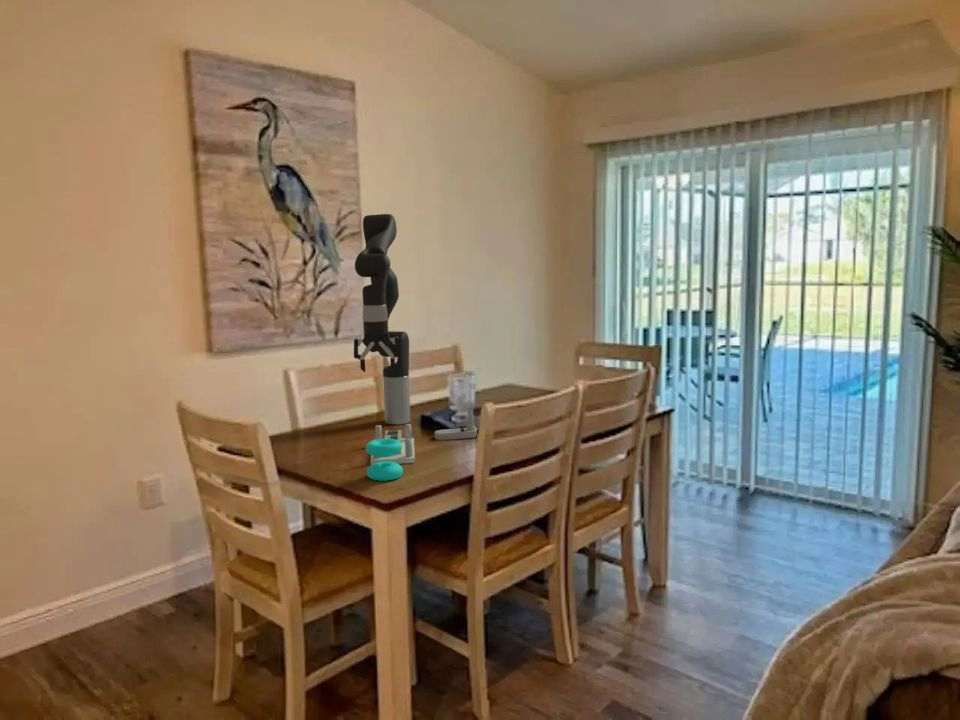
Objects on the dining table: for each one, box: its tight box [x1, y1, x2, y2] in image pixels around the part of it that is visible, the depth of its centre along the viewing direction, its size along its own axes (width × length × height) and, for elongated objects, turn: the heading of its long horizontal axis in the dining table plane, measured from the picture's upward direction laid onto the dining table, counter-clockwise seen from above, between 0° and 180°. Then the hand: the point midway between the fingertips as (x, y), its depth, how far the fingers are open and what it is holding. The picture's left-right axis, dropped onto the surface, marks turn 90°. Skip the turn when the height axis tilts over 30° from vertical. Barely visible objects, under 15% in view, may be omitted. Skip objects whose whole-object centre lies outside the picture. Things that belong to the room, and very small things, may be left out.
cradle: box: [370, 423, 416, 466], centre depth 232 cm, size 24×13×6 cm, turn 6°
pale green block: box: [384, 429, 403, 454], centre depth 232 cm, size 14×5×5 cm, turn 6°
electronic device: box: [434, 407, 479, 441], centre depth 250 cm, size 5×10×15 cm
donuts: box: [365, 438, 404, 482], centre depth 208 cm, size 10×10×10 cm
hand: (378, 370), depth 233 cm, fingers open, 8 cm apart
